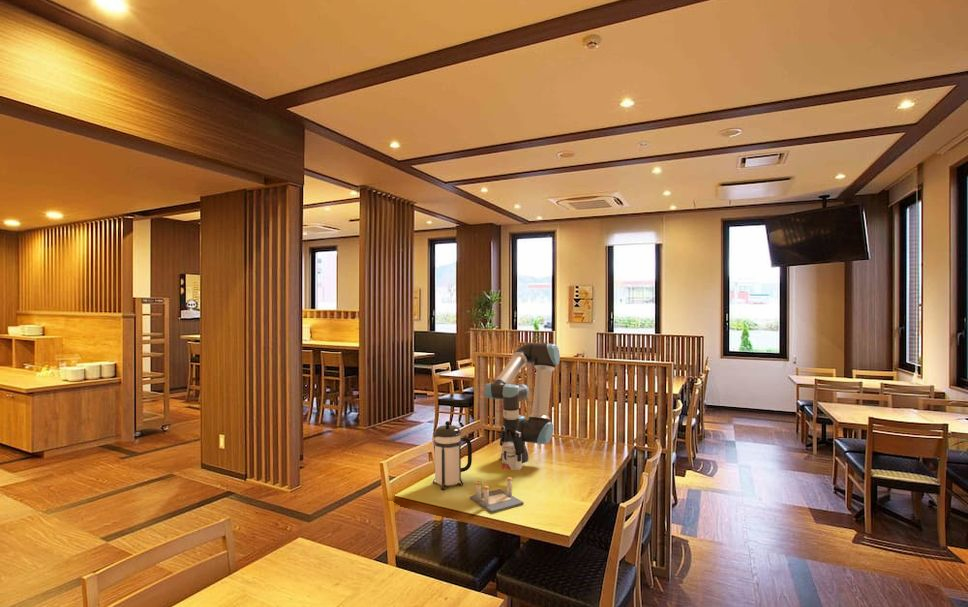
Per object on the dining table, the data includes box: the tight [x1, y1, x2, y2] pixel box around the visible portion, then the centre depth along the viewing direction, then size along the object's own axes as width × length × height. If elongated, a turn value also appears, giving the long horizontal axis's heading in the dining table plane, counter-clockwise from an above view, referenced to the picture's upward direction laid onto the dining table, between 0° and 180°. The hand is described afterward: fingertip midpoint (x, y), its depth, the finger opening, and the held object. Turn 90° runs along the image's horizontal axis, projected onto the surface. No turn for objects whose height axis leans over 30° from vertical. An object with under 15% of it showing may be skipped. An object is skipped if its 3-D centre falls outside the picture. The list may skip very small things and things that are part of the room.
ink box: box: [501, 442, 523, 471], centre depth 232 cm, size 8×5×12 cm, turn 72°
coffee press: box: [432, 420, 473, 491], centre depth 231 cm, size 17×16×30 cm
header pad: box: [469, 476, 525, 514], centre depth 210 cm, size 18×16×9 cm
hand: (511, 464), depth 232 cm, fingers closed on ink box, 9 cm apart
